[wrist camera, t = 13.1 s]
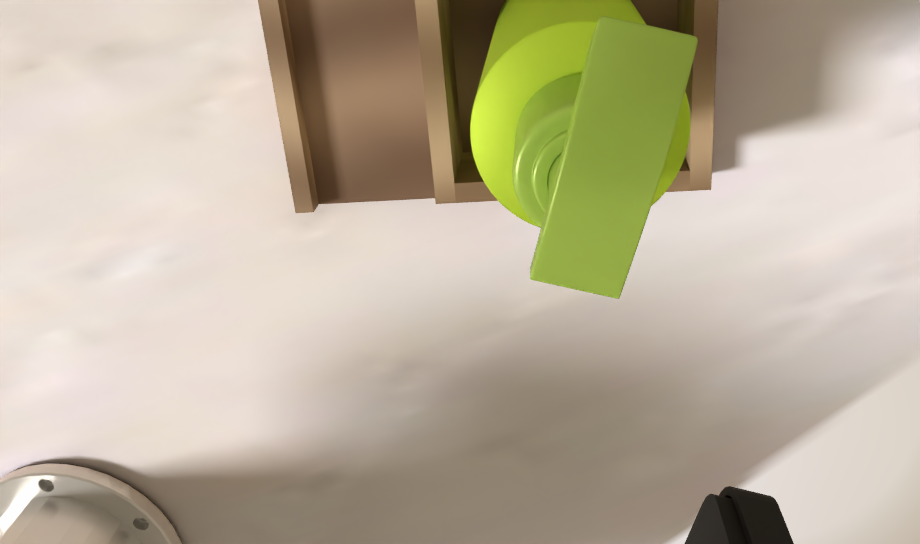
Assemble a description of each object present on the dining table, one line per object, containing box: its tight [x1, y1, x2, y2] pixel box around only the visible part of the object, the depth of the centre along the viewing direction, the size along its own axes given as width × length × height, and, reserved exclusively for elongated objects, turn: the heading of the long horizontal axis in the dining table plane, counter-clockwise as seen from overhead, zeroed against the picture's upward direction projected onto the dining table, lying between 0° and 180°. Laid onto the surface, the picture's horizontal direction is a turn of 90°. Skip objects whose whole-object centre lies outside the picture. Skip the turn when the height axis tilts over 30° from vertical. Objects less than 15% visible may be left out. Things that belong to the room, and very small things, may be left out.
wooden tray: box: [258, 0, 718, 213], centre depth 34 cm, size 14×18×5 cm
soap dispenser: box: [470, 0, 698, 299], centre depth 26 cm, size 6×7×20 cm
